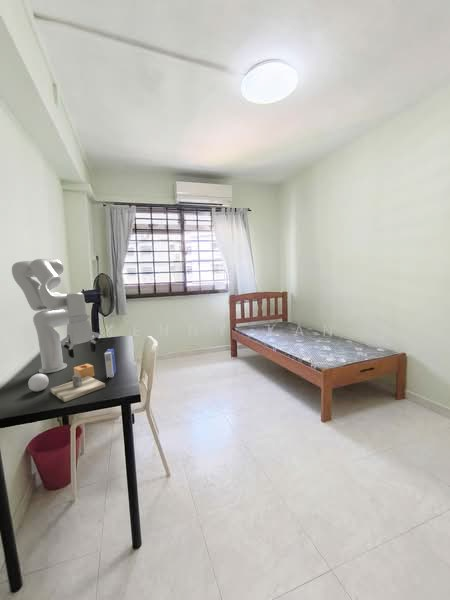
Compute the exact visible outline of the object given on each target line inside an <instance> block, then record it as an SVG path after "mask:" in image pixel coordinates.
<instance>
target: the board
mask: <svg viewBox="0 0 450 600" xmlns="http://www.w3.org/2000/svg"><path fill="white" fill-rule="evenodd" d="M71 379H72V381H69V382H66V383H62V384H60V385H57V386H53V387H50V388H49V390H50V393H52V394H53V395H54V396H55V397H57V398H58V399H60V400H61V401H63V402H64V403H66V402H69V401H71V400H74V399H77V398H80V397H82V396H85V395H87V394H90V393H93V392H96V391H98V390H101V389H104V388H105V387H106V383H105V382H102V381H100V380H99V379H96V378H94V377H90V376H87V377H84V378H81V375H74V374H73V375H72V377H71Z"/></svg>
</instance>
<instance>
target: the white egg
mask: <svg viewBox="0 0 450 600" xmlns="http://www.w3.org/2000/svg"><path fill="white" fill-rule="evenodd" d="M49 381H50V380H49V377H48V376H47V374H45V373H36V374H34V375H31V377H30V378H29V379H28V381H27V382H28V383H27V386H28V388H29V389H30V390H31V391H33V392H40V391H44V389H46V388H47V386H48V385H49Z"/></svg>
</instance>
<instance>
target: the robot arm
mask: <svg viewBox="0 0 450 600" xmlns="http://www.w3.org/2000/svg"><path fill="white" fill-rule="evenodd" d="M62 273H64V265H63V263H62V262H61V261H60V260H59V259H57V258H37V259H34V260H23V261H16V262H15V263H14V264H13V265H12V266H11V275H12V277H13V279H14V281H15V283H16V284H17V285H18V287H20V289H21V290H22V292H23V295H24V296H25V298H26V301H27V302H28V305H29V307H30V308H31V310H33V311H34V312H36V313H35V314H34V315H33V317H32V319H33V320H32V321H33V323H34V327H35V330H36V334H37V339H38V340H37V341H38V346H39V354H40V360H41V367H40V368H39V369H38V373H39V374H51V373H56V372H59V371H62V370H65V369H66V368H67V367H68V364H67V363H66V362H64V358H63V350H62V347H63V348H65V349H67V353H68V356H69V358H71V359H74V358H75V352H74V349H73V347H74V346H75V345H78V344H83V343H87V342H88V343H89V342H90V351H91V352H92V353H96V350H97V347H96V344H97V341H98V340H99V337H100V336H101V335H100V333H99V332H94V331H93V330H92V327H91V322H90V321H89V320H88V319H89V318H91V317H90V316H91V315H90V314H88V313H87V307H86V301H85V300H86V299H85V294H84V293H83V292H65V293H63V292H62V293H60V292H58V291H52V290H54V289H55V288H56V287H58V286H59V285H60V284H61V281H62V280H61V277H60V276H59V275H62ZM33 278H36V279H37V280H35V279H33ZM38 281H39V282H38ZM62 326H66V337H64V338H63V339H61V337H60V336H61V335H60V333H59V332H58V331H57V330H56V329H55V328H58V327H62ZM66 342H67V343H68V344H67V343H66Z"/></svg>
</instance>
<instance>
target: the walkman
mask: <svg viewBox="0 0 450 600" xmlns="http://www.w3.org/2000/svg"><path fill="white" fill-rule="evenodd" d="M115 356H116V355H115V349H114V348H108V349H107V350H106V351H105V352H104V360H105V361H104V363H105V371H106V379H107V378H108V377H109V378H113V377H114V376H115V375H116V373H117V366H116V357H115Z"/></svg>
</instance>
